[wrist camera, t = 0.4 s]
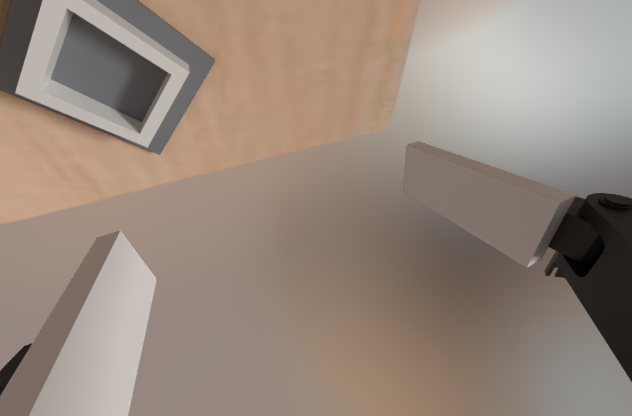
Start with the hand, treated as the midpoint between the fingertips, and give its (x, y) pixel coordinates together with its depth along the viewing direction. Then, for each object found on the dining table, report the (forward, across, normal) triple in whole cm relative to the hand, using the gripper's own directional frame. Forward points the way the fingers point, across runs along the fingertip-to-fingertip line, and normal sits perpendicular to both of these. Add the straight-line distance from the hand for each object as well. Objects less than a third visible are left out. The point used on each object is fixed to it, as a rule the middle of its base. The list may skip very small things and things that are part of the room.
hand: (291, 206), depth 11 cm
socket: (+25, -10, +7) cm, 28 cm away
